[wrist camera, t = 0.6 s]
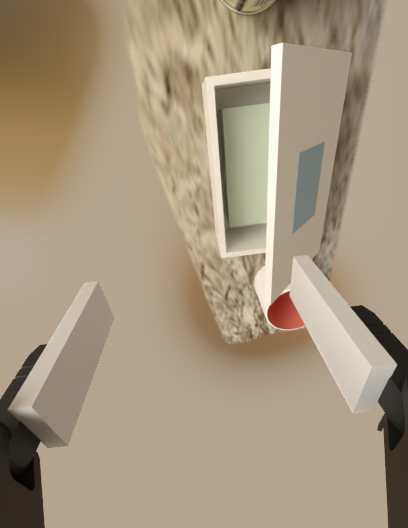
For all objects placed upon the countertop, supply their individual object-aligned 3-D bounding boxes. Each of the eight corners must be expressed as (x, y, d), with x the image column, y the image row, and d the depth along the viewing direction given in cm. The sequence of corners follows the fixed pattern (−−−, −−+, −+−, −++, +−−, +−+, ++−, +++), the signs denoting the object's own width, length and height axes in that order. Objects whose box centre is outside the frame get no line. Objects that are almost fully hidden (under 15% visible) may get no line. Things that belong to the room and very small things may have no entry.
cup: (290, 298, 54) (308, 332, 46) (247, 293, 53) (258, 327, 44) (308, 260, 49) (333, 291, 40) (261, 253, 48) (276, 284, 39)
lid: (264, 302, 28) (271, 305, 28) (271, 45, 16) (284, 42, 16) (314, 249, 37) (320, 250, 36) (343, 54, 25) (353, 52, 24)
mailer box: (215, 232, 45) (221, 258, 37) (201, 84, 33) (205, 77, 25) (292, 223, 44) (313, 246, 37) (305, 70, 33) (341, 58, 25)
